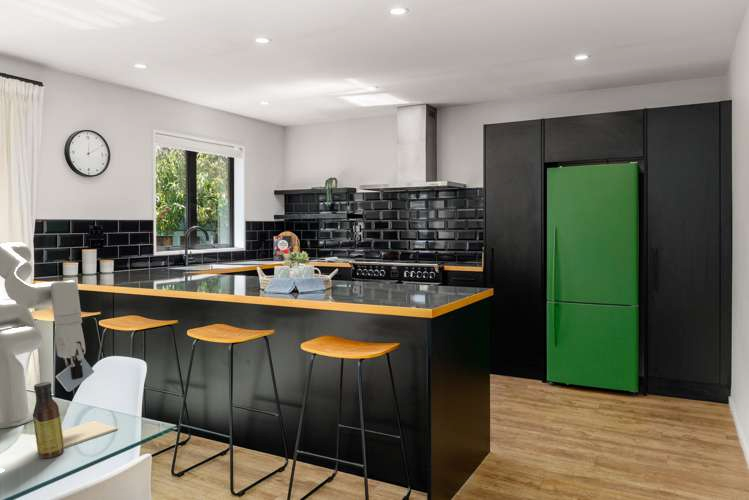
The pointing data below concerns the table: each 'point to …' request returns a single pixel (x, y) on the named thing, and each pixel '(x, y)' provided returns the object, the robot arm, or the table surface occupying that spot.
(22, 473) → the table surface
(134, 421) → the table surface
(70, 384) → the tile
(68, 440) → the mat
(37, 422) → the sauce bottle
